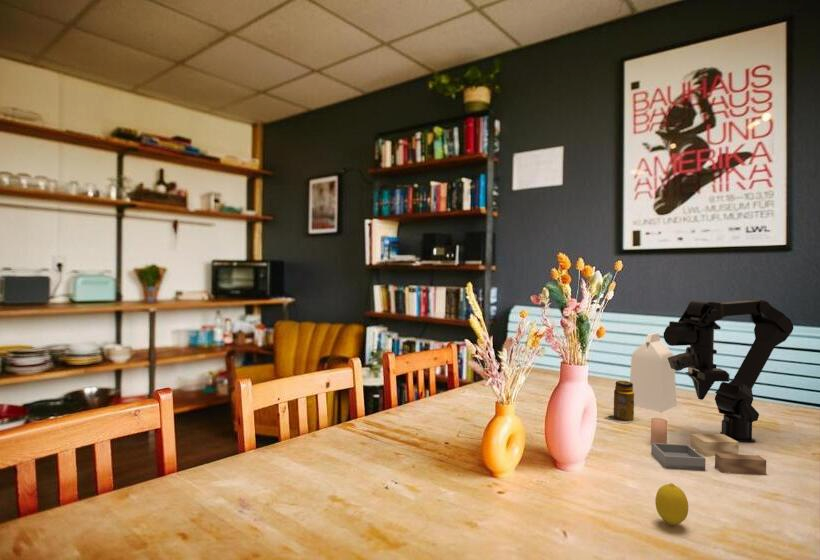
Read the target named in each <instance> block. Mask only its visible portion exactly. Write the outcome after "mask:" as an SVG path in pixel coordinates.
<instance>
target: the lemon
mask: <svg viewBox="0 0 820 560" xmlns="http://www.w3.org/2000/svg"><path fill="white" fill-rule="evenodd" d="M655 509H656V512H657V513H658V515H659V517H660V518H661V519H662V520H663V521H665V522H667V523H668V525H670V526H674V525H678V524H681V523H682V522H684V521H686V519H687V517H688V514H689V500H688V498H687V495H686V494H685V492H684V491H683V490H682V489H681V488H680V487H678V486H677V485H675V484H674V483H671V482H670V483H669V484H664V485H661V486H660V487H659V488H658V490H657V492H656V494H655Z"/></svg>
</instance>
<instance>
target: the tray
mask: <svg viewBox="0 0 820 560" xmlns="http://www.w3.org/2000/svg"><path fill="white" fill-rule="evenodd" d="M650 445H651V447H650V448H651V451H650V452H651V453H650V454H651V456H653V458H654V459H655V460H656V461H657V462H658V463H659V464H660V466H662V467H663V468H664V469H666V470H669V469H670V470H683V471H685V470H686V471H687V470H688V471H703V472H704V471H705V472H706V463H707V462H706V457H705V456H704V455H702V454H700V453H699V452H697V451H696V450H694V449H693V448H692V447H691V445H689V444H684V443H683V444H680V443H679V444H678V443H667V444H663V443H651V442H650Z"/></svg>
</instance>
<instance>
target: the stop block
mask: <svg viewBox="0 0 820 560" xmlns="http://www.w3.org/2000/svg"><path fill="white" fill-rule="evenodd" d="M714 468H715V469H716V468H717V469H716V470H718V471H719V472H720V473H727V474H742V473H744V474H746V475H760V474H765V475H767V459H765V458H763V457H762V456H760V455H758V454H756V455H754V454H739V453H738V454H720V453H715V456H714ZM728 472H730V473H728ZM765 475H764V476H765Z"/></svg>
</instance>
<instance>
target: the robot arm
mask: <svg viewBox="0 0 820 560" xmlns="http://www.w3.org/2000/svg"><path fill="white" fill-rule="evenodd" d="M744 315H749V318H750V321H751V322H752V323H753V324H754V325H755V326H754V328H753V333H754V341H753V343H752V344H751V346H750V348H749V350H748V351H747V353H746V356H745V357H744V359H743V361H742V363H741V364H740V365H739V368H738V370H737V372H736V373H735V375H734V377H733V378H732V380H730V376H731V375H730V373H729V372H727V371H726V370H724V369H722V368H717V364H715V363H714V355H715V354H716V355H717V354H718V353H717V352H718V350H717V349H715V348H714V347H715V346H714V345H715V343H714V340H715V337H714V336H715V330H721V329H722V328H721V326H720V325H719V324H718V323H716V322H718V321H721V320H722V319H724V318H726V317H731V316H732V317H734V316H744ZM793 330H794V324H793V322H792V320H791V319H790V318H789V317H787V316H786V314H785V313H784V312H783V311H780V310H779V309H776V308H775V307H774V306H772V305H771V304H770V303H769V302H768V301H767V300H764V299H753V298H752V299H748V300H739V301H737V300H736V301H726V302H725V301H724V302H717V301H716V302H715V301H706V300H705V301H704V300H691V301H690V302H689V304H688V306H687V307H686V309H685V311H684V312H683V314H682V315H681V316H680V318H679V319H678V321H671V320H670V321H669V323H668V325H667V326H666V327H665V330H664V332H663V340H664V342H665V343H666V344H667V345H668V346H670V347H675V346H678V347H679V346H680V347H681V346H686V348H685V352H683V353H678V354H675V355H674V354H673V355H674V356H671V357H668V361H669V364H670V367H671V369H674V370H675V372H679V371H682V370H684V369H687V371H686V372H685V375H687V376H688V377H689V378H690V379H691V380H692V383H693V386H694V390H695V392H696V397H697V399H698V400H699V401H701V400H704V399H705V397H706V396H707V394H709V393H708V392H709V391H710V389H711V388H712V387H713V385H714V384H715V382H721V383H720V385H719V386H718V389H717V390H716V391H715V392H714V394H715V396H714V401H715V405H716V407H717V409H718V413H719V414H722V415H723V419H722V420H721V431H720V433H719V434H724V435H726V436H728V437H730V438H732V439H734V440H736V441H738V442H744V443H745V442H747V443H755V442H756V439H754V438H753V423H754V422H757V421H758V419H759V416H760V414H759V412H758V411H757V410H756V408H755V407H754V406H753V405H752V404H753V401H754V395H753V387H754V386H755V383H756V382H757V380H758V378H759V376H760V374H761V373H762V372H763V369H764V367H765V365H766V364H767V362H768V360H769V358H770V356H771V354H772V352H773V351H774V349H775V348H776V346H779V345H780V344H781V343H784V342H785V341H786V340H787V339H788V338H789V337H790V335H791V334H792V333H793Z"/></svg>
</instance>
